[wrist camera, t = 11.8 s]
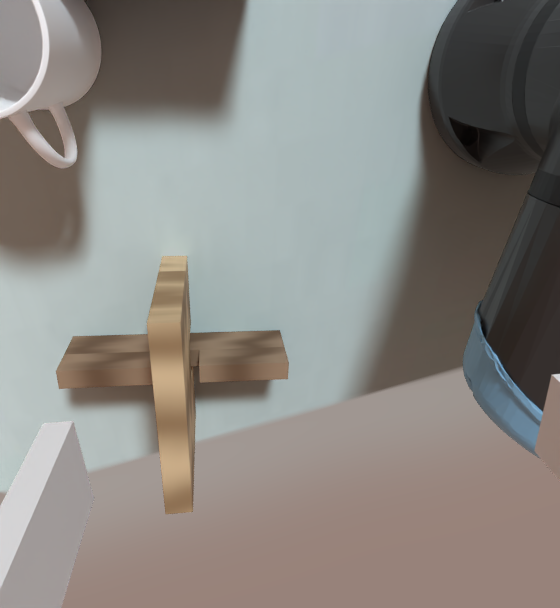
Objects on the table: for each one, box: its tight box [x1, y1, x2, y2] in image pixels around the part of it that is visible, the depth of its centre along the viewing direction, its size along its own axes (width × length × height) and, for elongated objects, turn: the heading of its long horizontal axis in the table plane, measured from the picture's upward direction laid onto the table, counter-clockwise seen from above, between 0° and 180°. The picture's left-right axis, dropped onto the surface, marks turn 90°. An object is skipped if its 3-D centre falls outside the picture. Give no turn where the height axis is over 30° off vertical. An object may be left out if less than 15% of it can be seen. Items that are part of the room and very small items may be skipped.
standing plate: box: [56, 330, 289, 389], centre depth 42 cm, size 18×2×6 cm, turn 88°
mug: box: [0, 0, 101, 168], centre depth 29 cm, size 12×8×12 cm
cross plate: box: [147, 256, 196, 514], centre depth 39 cm, size 16×2×12 cm, turn 179°
